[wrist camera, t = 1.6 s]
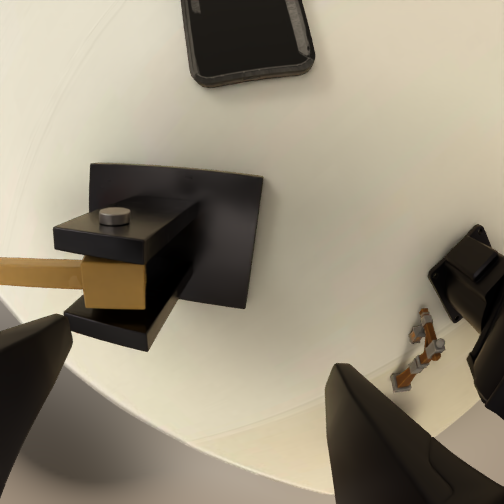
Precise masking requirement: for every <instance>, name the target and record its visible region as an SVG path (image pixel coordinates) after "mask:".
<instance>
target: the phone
mask: <svg viewBox="0 0 504 504" xmlns="http://www.w3.org/2000/svg"><path fill="white" fill-rule="evenodd" d="M181 6H182V14H183V23H184V31H185V39H186V46H187V54H188V61H189V68H190V73H191V76H192V77H193V78H194V80H195V81H196V82H197V83H198V84H200V85H202V86H203V87H208V88H210V87H218V86H223V85H228V84H234V83H240V82H246V81H252V80H259V79H267V78H275V77H284V76H294V75H301V74H304V73H306V72H308V71H309V70H310V68H311V67H312V65H313V63H314V60H315V51H314V46H313V42H312V38H311V34H310V30H309V26H308V22H307V18H306V14H305V11H304V7H303V3H302V0H181Z"/></svg>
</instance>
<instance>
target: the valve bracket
mask: <svg viewBox="0 0 504 504" xmlns="http://www.w3.org/2000/svg"><path fill="white" fill-rule="evenodd" d="M263 178H264V177H263V176H259V175H252V174H244V173H236V172H227V171H218V170H208V169H198V168H187V167H175V166H161V165H145V164H126V163H91V164H90V183H89V213H87V214H84V215H82V216H79V217H77V218H74V219H72V220H69V221H67V222H64V223H62V224H60V225H57V226H55V227H53V236H54V248H55V249H56V250H61V251H66V252H71V253H76V254H82V255H87V256H93V257H98V258H104V259H109V260H115V261H121V262H126V263H132V264H138V265H145V264H146V304H145V309H144V310H139V309H100V308H86V307H85V300H84V295H82V296H81V297H80V298H79V299H78V300H77V301H75V302H74V303H73V304H72V305H71V306H70V307H69V308H68V309H66V310H65V311H64V316H66V317H67V318H68V320H69V324H70V329H71V331H73V332H76V333H80V334H83V335H86V336H89V337H93V338H96V339H99V340H103V341H106V342H110V343H114V344H117V345H121V346H125V347H129V348H133V349H137V350H141V351H145V352H148V351H149V349H150V347H151V345H152V344H153V342H154V340H155V338H156V337H157V335H158V333H159V331H160V330H161V328H162V326H163V324H164V323H165V321H166V319H167V318H168V316H169V314H170V312H171V311H172V309H173V307H174V306H175V304H176V302H177V300H178V299H182V300H188V301H194V302H200V303H207V304H213V305H219V306H226V307H233V308H240V309H245V308H246V302H247V294H248V287H249V280H250V273H251V265H252V258H253V251H254V244H255V236H256V229H257V222H258V214H259V207H260V200H261V193H262V185H263Z"/></svg>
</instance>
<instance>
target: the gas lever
mask: <svg viewBox="0 0 504 504" xmlns="http://www.w3.org/2000/svg"><path fill="white" fill-rule="evenodd" d="M0 285H11V286H26V287H42V288H61V289H83V293H84V300H85V307H86V308H100V309H139V310H144V309H145V304H146V264H145V265H138V264H132V263H126V262H121V261H115V260H109V259H104V258H98V257H93V256H87V255H85V256H84V258H83V259H82V260H67V259H35V258H7V257H0Z"/></svg>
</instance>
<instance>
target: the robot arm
mask: <svg viewBox="0 0 504 504" xmlns="http://www.w3.org/2000/svg"><path fill="white" fill-rule="evenodd" d="M478 230H479V233H478ZM435 273H436V275H435V276H434V277H433V275H434V274H435ZM428 278H429V280H430V282H431V283H432V285H433V287H434V289H435V290H436V292H437V294H438V296H439V298H440V300H441V302H442V304H443V305H444V307H445V309H446V311H447V313H448V315H449V317H450V319H451V320H452V322H453V323H457V322H458V321H460V320H461V319H462V318H463V317H464V318H465V319H466V320H467V321H468V322H469V323H470V324H471V326H472V327H473V328H474V329H475V330H476V331H477V332H478V333H479V334H480V336H479V338H478V340H477V342H476V344H475V346H474V348H473V350H472V352H470V353H469V355H468V357H467V362H468V365H469V367H470V370H471V373H472V376H473V379H474V385H475V387H476V389H477V391H478V394H479V396H480V398H481V400H482V402H483V403H485V407H486V408H487V409H489V410H491V411H493V412H494V413H496V414H497V415H498V416H500V417H501V418H502V419H503V420H504V256H503V255H502V254H500V253H498V252H497V251H496V250H494V249H493V248H491V245H490V242H489V240H488V237H487V235H486V232H485V230H484V227H483V226H481V225H479V224H477V225H476V226H475V227H474V228H473V229H472V230H471V231H470V232H469V233H468V234H467V235H466V236H465V237H464V238H463V239H462V240H461V241H460V242H459V243H458V244H457V245H456V246H455V247H454V248H453V249H452V250H451V251H450V252H449V253H448V254H447V255H446V256H445V257H444V258H443V259H442V260H441V261H440V262H439V263H438V264H437V265H435V266H434V267H433V268H432V269H431V270H430V271H429V273H428ZM456 316H457V317H456ZM455 317H456V318H455ZM72 343H73V338H72V334H71V329H70V324H69V320H68V318H67V317H66V316H63V315H60V314H53V315H50V316H47V317H43V318H40V319H37V320H34V321H31V322H28V323H25V324H22V325H18V326H15V327H12V328H9V329H6V330H3V331H0V497H1V495H2V492H3V489H4V487H5V483H6V481H7V479H8V477H9V474H10V472H11V469H12V467H13V465H14V463H15V460H16V458H17V456H18V454H19V451H20V449H21V447H22V445H23V443H24V441H25V439H26V437H27V435H28V433H29V431H30V429H31V427H32V425H33V423H34V420H35V419H36V417H37V415H38V413H39V411H40V409H41V408H42V406H43V404H44V402H45V400H46V398H47V397H48V395H49V393H50V391H51V389H52V388H53V386H54V384H55V381H56V380H57V377H58V375H59V373H60V371H61V369H62V366H63V364H64V362H65V360H66V358H67V356H68V353H69V351H70V349H71V347H72ZM325 405H326V432H327V443H328V450H329V456H330V463H331V470H332V477H333V484H334V491H335V499H336V504H504V486H501V485H499V484H498V483H496V482H494V481H493V480H491V479H490V478H488V477H487V476H485V475H483V474H482V473H480V472H479V471H477V470H476V469H474V468H473V467H471V466H470V465H468V464H467V463H466V462H464V461H463V460H461V459H460V458H458V457H457V456H456V455H454V454H453V453H452V452H451V451H449V450H448V449H447V448H446V447H444V446H443V445H442V444H441V443H440V442H438V441H437V440H436V439H435V438H434V437H431V435H430V434H429V433H428V432H427V431H425V430H424V429H423V428H422V427H421V426H420V425H419V424H417V423H416V422H415V421H414V420H413V419H412V418H410V417H409V416H408V415H407V414H406V413H405V412H404V411H402V410H401V409H400V408H399V407H398V406H397V405H395V404H394V403H393V402H392V401H391V400H390V399H389V398H388V397H386V396H385V395H384V394H383V393H382V392H381V391H380V390H378V389H377V388H376V387H375V386H374V385H373V384H372V383H371V382H369V381H368V380H367V379H366V378H365V377H364V376H363V375H361V374H360V373H359V372H358V371H357V370H356V369H355V368H354V367H353V366H351V365H350V364H347V363H336V364H334V366H333V368H332V370H331V373H330V376H329V378H328V381H327V383H326V387H325Z"/></svg>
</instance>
